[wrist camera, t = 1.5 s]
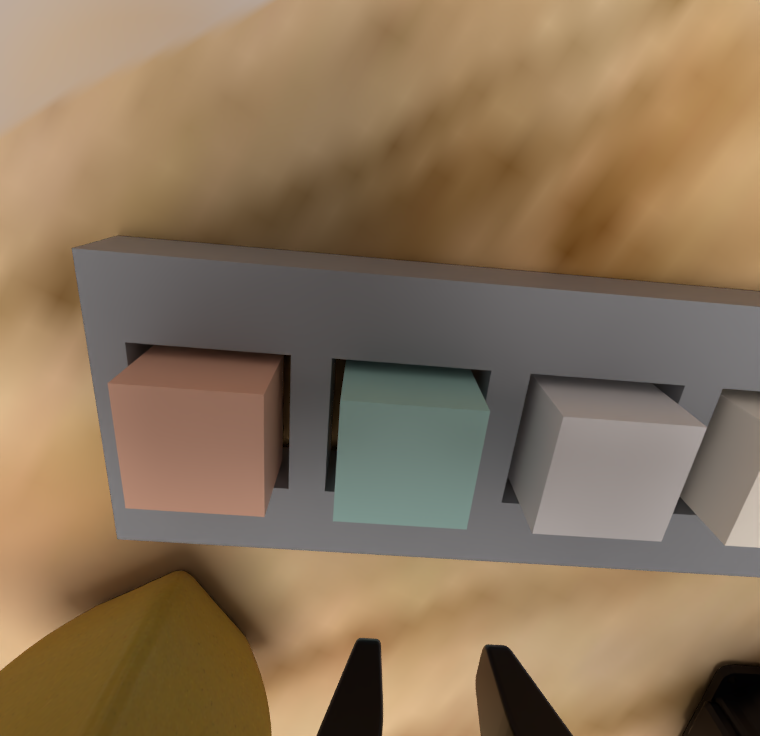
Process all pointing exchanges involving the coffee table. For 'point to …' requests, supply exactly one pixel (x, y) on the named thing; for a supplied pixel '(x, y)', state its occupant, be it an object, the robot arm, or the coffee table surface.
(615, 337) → the keyguard frame
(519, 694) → the robot arm
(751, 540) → the key
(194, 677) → the flower pot
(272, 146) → the coffee table surface
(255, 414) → the key
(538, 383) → the key
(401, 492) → the key
